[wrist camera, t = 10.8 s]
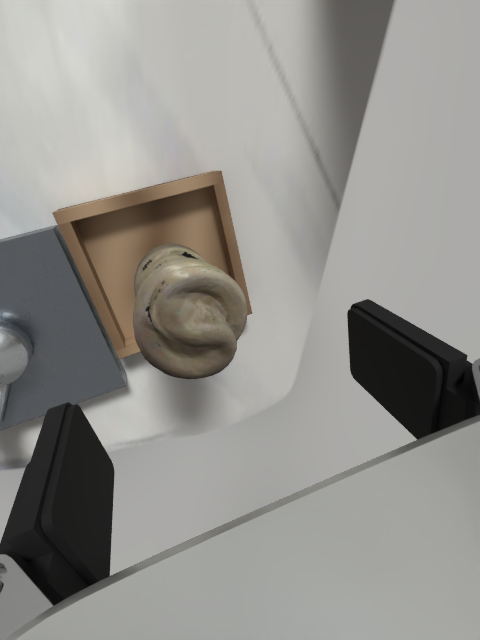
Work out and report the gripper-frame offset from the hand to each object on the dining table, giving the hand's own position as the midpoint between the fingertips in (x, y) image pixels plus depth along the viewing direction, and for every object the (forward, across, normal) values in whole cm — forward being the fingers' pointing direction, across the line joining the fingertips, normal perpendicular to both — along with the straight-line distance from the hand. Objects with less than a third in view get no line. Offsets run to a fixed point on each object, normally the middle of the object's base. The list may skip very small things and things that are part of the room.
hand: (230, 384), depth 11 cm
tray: (+19, +1, +1) cm, 19 cm away
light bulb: (+19, 0, +1) cm, 19 cm away
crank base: (+19, +14, +3) cm, 24 cm away
